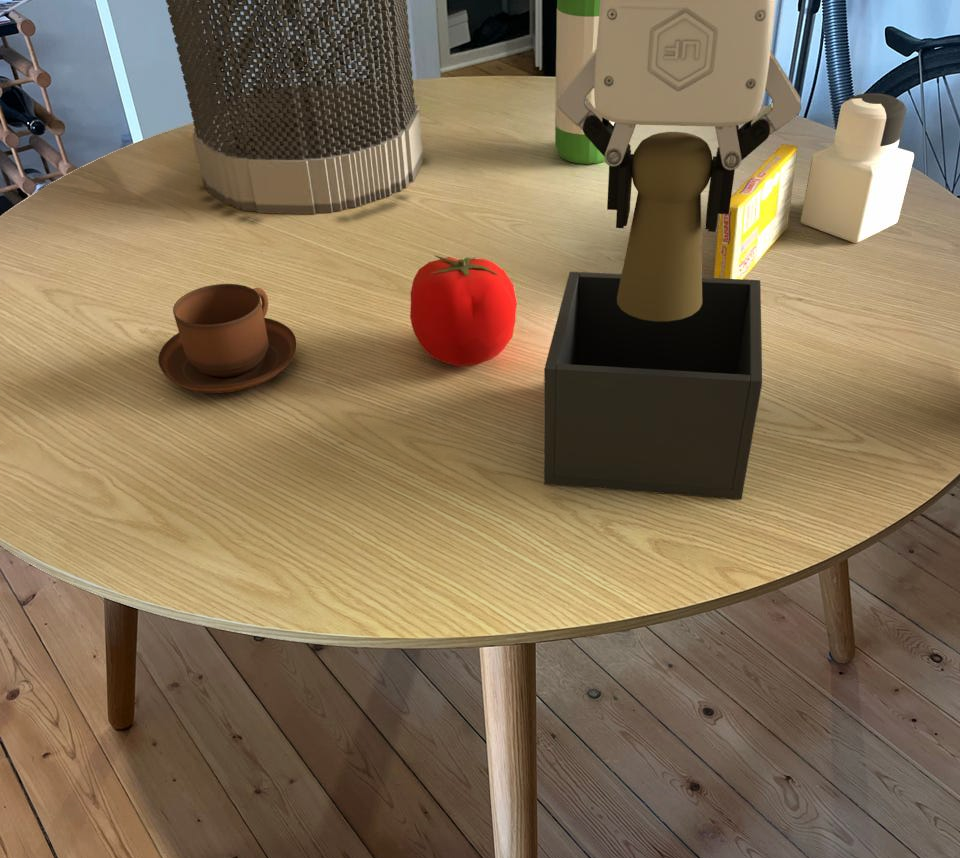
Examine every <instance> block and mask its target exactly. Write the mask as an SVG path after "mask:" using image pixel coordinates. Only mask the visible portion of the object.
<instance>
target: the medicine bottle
mask: <svg viewBox="0 0 960 858" xmlns="http://www.w3.org/2000/svg"><path fill="white" fill-rule="evenodd" d="M906 114H907V107H906V105H905V103H904V102H903V101H902V100H900V99H898V97H897V98H896V97H895V96H892V95H889V94H886V93H885V94H884V93H878V92H873V93H872V92H868V93H867V92H866V93H860V94H856V95H854V96H851V97H848V98H847V99H846V100H845V101H843V102H842V103H841V106H840V110H839V114H838V120H837V125H836V130H835V135H834V140H833V143H834V144H832V145H830V146H828V147H826V148H823V149H821V150H819V151H817V152H814V153H813V155H812V157H811V163H810V168H809V172H808V177H807V185H806V190H805V196H804V201H803V206H802V210H801V216H800V223H801V224H802V225H804V226H807V227H810V228H812V229H815V230H817V231H821V232H823V233H826V234H829V235H832V236H833V237H837V238H839V239H841V240H845V241H847V242H850V243H852V244H858V243H860V242H862V241H865V240H866V239H869V238H871V237H872V236H874V235H876V234H878V233H880V232H883V231H884V230H886V229H888V228H891V227H892V226H894V225H896V224H898V222H899V218H900V214H901V210H902V206H903V203H904V198H905V195H906V190H907V186H908V182H909V178H910V175H911V170H912V167H913V163H914V159H915V154H914V152H912V151H910V150H907V149H903V148H900V147H899V143H900V139H901V134H902V131H903V126H904V122H905V119H906Z"/></svg>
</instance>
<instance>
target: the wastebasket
mask: <svg viewBox="0 0 960 858" xmlns="http://www.w3.org/2000/svg"><path fill="white" fill-rule="evenodd" d="M353 1H354V2H352V0H323V2H322V0H250V3H249V0H165V3H166V5H167V12H168V14H169V16H170V17H169V21H170V24H171V30H172V33H173V36H174V43H175V44H176V45H177V46H176V51H177V55H178V61H179V63H180V65H181V66H180V69H181V72H182V79H183V81H184V87H185V91H186V96H187V100H188V101H189V103H188V105H189V108H190V111H191V112H190V114H191V118H192V120H193V121H192V123H193V126H194V128H193V133H192V134H191V136H192V142H193V145H194V149H195V154H196V158H197V163H198V167H199V172H200V176H201V180H202V184H203V187H204V189H206V190H207V192H208V194H210V195H211V196H213V197H214V198H215V199H218V200H219V201H221V202H222V203H223V204H226V206H232V207H233V208H235V209H236V210H242V212H257V214H288V215H289V214H291V215H292V214H293V215H315V214H316V213H326V214H327V213H329V214H331V213H333V212H342V211H343V210H347V209H356V208H357V207H361V206H362V205H363V206H364V205H366V204H370V203H372V202H376V201H377V200H378V201H379V200H381V199H385V198H386V197H391V195H392V194H397V192H402V190H403V189H407V188H408V185H409V183H413V182H415V178H416V176H417V175H418V172H419V170H420V168H421V166H422V164H423V161H424V153H423V141H422V128H421V126H422V125H421V113H420V109H419V108H420V107H419V104H417V102H416V100H415V96H414V95H415V89H414V79H413V76H414V75H413V70H412V69H413V68H412V67H413V63H412V62H413V61H412V52H411V42H410V38H411V36H410V33H409V31H410V30H409V29H410V25H409V14H408V4H407V0H353ZM342 4H343V5H342ZM304 5H305V6H304ZM357 5H358V7H357ZM255 6H256V7H255ZM245 7H246V9H245ZM308 9H309V11H308ZM346 9H347V10H346ZM353 11H354V12H353ZM242 13H243V14H242ZM343 14H344V15H343ZM358 15H359V16H358ZM247 17H248V18H247ZM238 18H239V19H238ZM332 18H333V19H332ZM347 18H348V19H347ZM243 22H244V24H243ZM337 22H338V23H337ZM234 24H236V25H234ZM290 24H291V25H290ZM334 27H335V28H334ZM240 28H241V29H240ZM287 28H288V30H287ZM338 31H339V33H338ZM236 33H237V35H236ZM291 33H292V34H291ZM297 37H298V38H297ZM324 40H325V41H324ZM293 42H294V43H293ZM328 44H329V45H328ZM329 53H330V54H329ZM358 54H359V55H358ZM348 57H349V58H348ZM311 58H312V59H311ZM255 60H256V61H255ZM315 62H316V63H315ZM359 63H360V64H359ZM260 64H261V65H260ZM349 66H350V67H349ZM256 69H257V70H256ZM339 70H340V71H339ZM340 78H341V80H340ZM295 79H296V81H295ZM249 80H250V81H249ZM246 85H247V86H246Z"/></svg>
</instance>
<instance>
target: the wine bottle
mask: <svg viewBox="0 0 960 858" xmlns="http://www.w3.org/2000/svg"><path fill="white" fill-rule="evenodd" d="M556 2H557V3H556V40H555V41H556V42H555V44H556V47H555V48H556V49H555V51H556V52H555V109H554V111H555V112H554V114H555V115H554V123H555V125H554V126H555V127H554V128H555V129H554V130H555V131H554V133H555V135H554V137H555V138H554V145H555V150H556V153H557V154H558V156H559V157H560V158H561V159H563V160H565V161H567V162H570V163H574V164H581V165H589V164H590V165H592V164H593V163H594V164H599V163H604V162H606V161H605V157H604V156H603V155H602V153H601V152H600V151H599V150H598V149H597V148H596V147H595V146H594V145H593V143H592V142H591V141H590V140H589V139H588V138H587V137H586V136H585V134H584V132H583V130H582V129H581V128H580V127H579V126H577V125H576V124H574V123H573V122H572V121H571V120H570V119H569V118H568V117H567V116H566V115H565V114H564V113H563V112H562V111H561V110H560V109H559V108H558V100H559V97H560V94H561V92H562V91H563V90H564V88H565V87H566V86H567V85H568V83H569V82H570V81H571V80H572V79H573V77H574V76H575V75H576V74H577V72H578V71H579V70H580V69H581V67H582V66H583V65H584V64H585V62H586V61H587V60H588V59H589V57H590V56H591V55H592V54H593V53H594V51H595V50H596V48H597V35H598V23H599V12H600V2H601V0H556ZM587 99H588V101H589V102H590V103H591V104H592V106H593V107H594V108H595V109H596V107H595V99H594V88H593V89H592V90H591V91H590V93H589V94H588V95H587ZM610 123H611V124H612V125H614V123H615V122H611V121H610Z"/></svg>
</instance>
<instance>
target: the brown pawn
mask: <svg viewBox="0 0 960 858" xmlns="http://www.w3.org/2000/svg"><path fill="white" fill-rule="evenodd" d="M633 154H634V155H633V158H632V168H631V173H632V185H633V186H634V188H635V189H636V191H637V194H636V200H635V205H634V210H633V215H632V221H631V224H630V230H629V235H628V239H627V240H628V241H627V245H626V250H625V254H624V255H625V256H624V261H623V265H622V270H621V274H622V275H621V280H620V285H619V290H618V295H617V304H618V306H619V307H620V308H621V310H622V311H624V312H626V313H627V314H629V315H630V316H633V317H636V318H639V319H643V320H649V321H674V320H680V319H683V318H686V317H689V316H691V315H693V314H694V313H696V312H697V311H698V310H699V309H700V307H701V305H702V278H703V257H702V255H703V253H702V248H703V247H702V193H703V191H704V190H705V189H706V188H707V186H708V184H709V183H710V178H711V174H712V166H713V153H712V150H711V148H710V146H709V144H708V142H706V140H704V139H703V138H702V137H700V136H698V135H695V134H693V133H688V132H684V131H664V132H658V133H654V134H651V135H650V136H648V137H646V138H644V139H642V140H641V141H640V143H639V144H638V145H637V147H636V149H635V150H634V152H633Z"/></svg>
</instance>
